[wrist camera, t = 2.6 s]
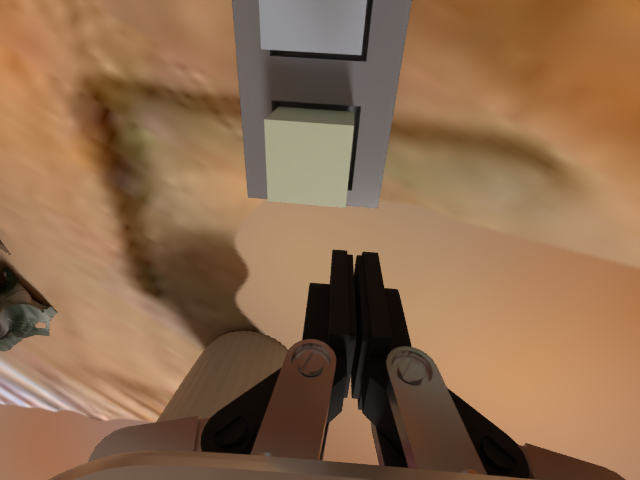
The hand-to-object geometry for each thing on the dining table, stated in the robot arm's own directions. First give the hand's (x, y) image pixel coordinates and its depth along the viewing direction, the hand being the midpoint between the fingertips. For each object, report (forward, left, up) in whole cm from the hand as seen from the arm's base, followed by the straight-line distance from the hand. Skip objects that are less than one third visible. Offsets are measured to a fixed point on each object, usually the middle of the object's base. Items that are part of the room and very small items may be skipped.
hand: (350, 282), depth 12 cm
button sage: (+3, 0, -17) cm, 18 cm away
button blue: (+3, -10, -17) cm, 20 cm away
